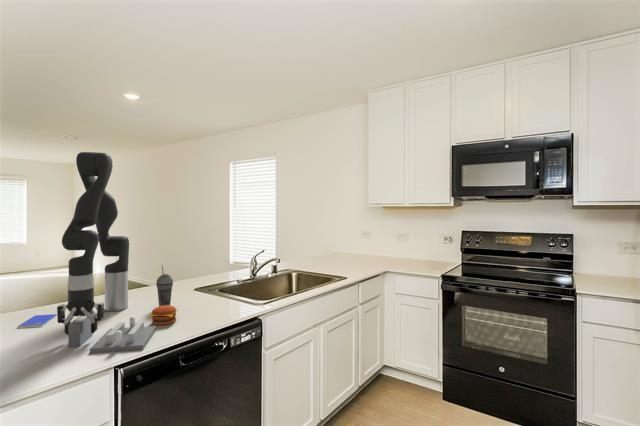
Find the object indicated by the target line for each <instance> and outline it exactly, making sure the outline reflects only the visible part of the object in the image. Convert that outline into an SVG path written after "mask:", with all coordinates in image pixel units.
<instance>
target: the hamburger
mask: <svg viewBox="0 0 640 426" xmlns="http://www.w3.org/2000/svg"><path fill="white" fill-rule="evenodd" d="M178 311H179V309H177V308H176V307H175V306H173V305H170V306H169V305H163V306H159V305H158V306H157V307H154V308H153V309H152V311H151V314H150V315H149V317H148V318H152V320H151V324H152V326H156V327H157V326H159V327H161V326H163V327H164V326H169V325H172V324H174V323H175V322H176V321H177V318H176V316H177V312H178Z"/></svg>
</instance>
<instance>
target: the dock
mask: <svg viewBox="0 0 640 426" xmlns="http://www.w3.org/2000/svg"><path fill="white" fill-rule="evenodd" d="M144 323H145V321H136V316H135V315H132V316H130V317H129V327H126V326H125V325H126V322H118V323H117V324H116V325H115V326H114V327H113V328H109V330H108V331H107V332H106V333H104V334H103V335H102V336H101V337H100V338H99V339H98V340H97V341H96V342H95V343H94V344H93V345H92V346H91V347H90V348H89V353H90V354H96V353H97V354H98V353H111V352H112V353H113V352H126V351H140V350H142V351H143V350H144V349H145V348H146V346H147V344H148V343H149V342H150V340H151V338H152V337H153V336H154V334H155V333H156V331H157V325H152V326H151V325H150V326H145V325H144Z"/></svg>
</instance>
